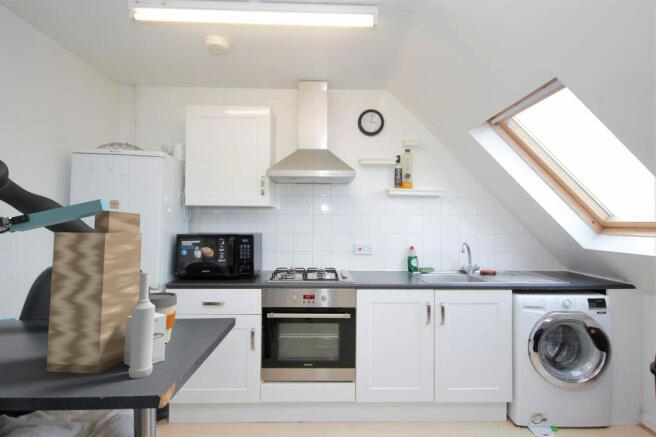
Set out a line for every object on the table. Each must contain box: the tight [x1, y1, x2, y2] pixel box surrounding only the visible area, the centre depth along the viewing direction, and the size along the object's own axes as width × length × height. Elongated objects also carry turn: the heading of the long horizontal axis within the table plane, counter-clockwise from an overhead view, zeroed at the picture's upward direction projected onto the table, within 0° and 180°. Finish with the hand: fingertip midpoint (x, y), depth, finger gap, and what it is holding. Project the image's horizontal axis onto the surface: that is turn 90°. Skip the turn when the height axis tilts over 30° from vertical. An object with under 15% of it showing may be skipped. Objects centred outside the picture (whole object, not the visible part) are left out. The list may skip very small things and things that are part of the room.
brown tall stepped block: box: [45, 210, 143, 375], centre depth 88 cm, size 14×14×41 cm
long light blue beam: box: [9, 198, 111, 233], centre depth 97 cm, size 22×5×15 cm, turn 102°
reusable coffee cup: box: [148, 291, 178, 344], centre depth 102 cm, size 13×13×15 cm
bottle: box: [128, 272, 155, 379], centre depth 80 cm, size 5×5×25 cm
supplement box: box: [123, 312, 166, 367], centre depth 87 cm, size 7×7×13 cm
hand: (34, 218), depth 95 cm, fingers closed on long light blue beam, 5 cm apart
